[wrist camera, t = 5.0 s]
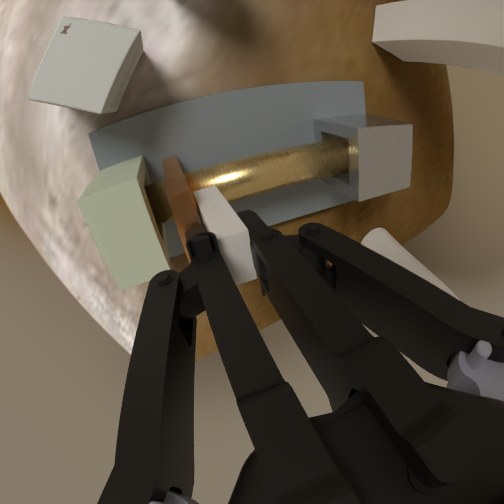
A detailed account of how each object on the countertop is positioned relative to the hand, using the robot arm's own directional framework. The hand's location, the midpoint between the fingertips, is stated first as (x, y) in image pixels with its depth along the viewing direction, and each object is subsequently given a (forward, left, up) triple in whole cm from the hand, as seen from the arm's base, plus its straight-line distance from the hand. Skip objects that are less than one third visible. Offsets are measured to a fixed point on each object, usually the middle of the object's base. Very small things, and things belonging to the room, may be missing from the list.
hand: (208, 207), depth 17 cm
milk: (-14, +26, -9) cm, 31 cm away
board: (0, +6, -8) cm, 10 cm away
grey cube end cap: (0, +16, -7) cm, 17 cm away
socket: (0, -6, -7) cm, 9 cm away
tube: (0, +5, -7) cm, 8 cm away
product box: (-12, -6, -9) cm, 16 cm away
